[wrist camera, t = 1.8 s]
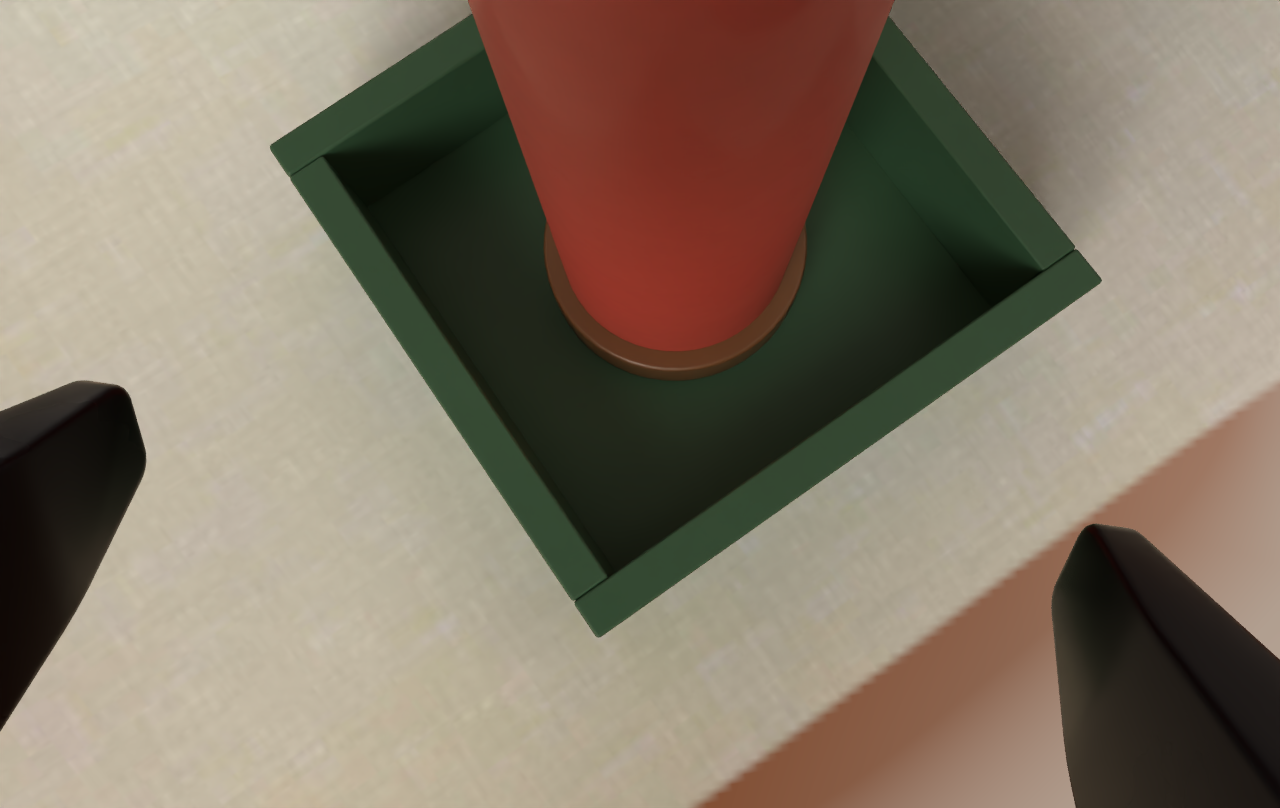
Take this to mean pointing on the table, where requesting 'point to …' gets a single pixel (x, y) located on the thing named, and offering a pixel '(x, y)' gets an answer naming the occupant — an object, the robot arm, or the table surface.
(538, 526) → the bin
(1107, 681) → the robot arm
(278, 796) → the table surface
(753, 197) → the skittle
